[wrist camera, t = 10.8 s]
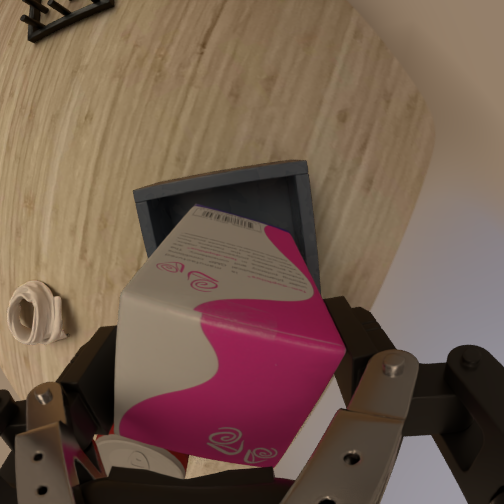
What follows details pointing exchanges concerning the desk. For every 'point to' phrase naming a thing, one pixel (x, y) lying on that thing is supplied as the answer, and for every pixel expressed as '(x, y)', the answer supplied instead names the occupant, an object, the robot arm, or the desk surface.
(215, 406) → the supplement box
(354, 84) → the desk surface
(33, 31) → the dish rack
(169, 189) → the dark grey storage bin
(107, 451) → the canned food
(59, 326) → the cream coiled cloth
